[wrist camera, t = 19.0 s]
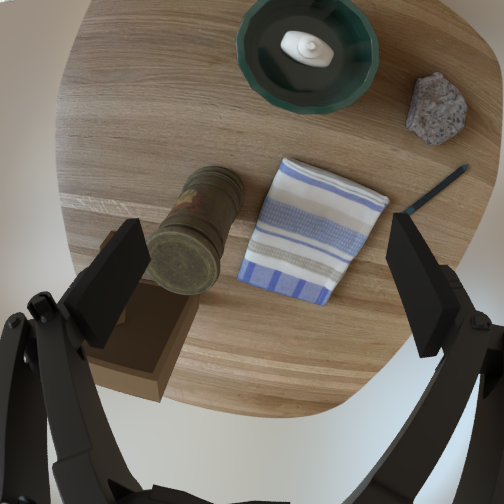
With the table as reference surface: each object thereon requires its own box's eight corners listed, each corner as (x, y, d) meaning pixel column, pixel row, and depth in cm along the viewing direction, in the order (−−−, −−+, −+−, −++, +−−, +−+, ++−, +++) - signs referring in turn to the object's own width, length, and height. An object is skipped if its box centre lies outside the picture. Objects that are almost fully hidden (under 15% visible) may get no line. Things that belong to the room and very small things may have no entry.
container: (254, 181, 44) (236, 253, 29) (228, 227, 49) (203, 309, 34) (198, 154, 42) (150, 213, 28) (177, 203, 47) (131, 276, 33)
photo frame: (199, 304, 60) (165, 418, 39) (103, 286, 60) (48, 379, 40) (198, 241, 51) (148, 366, 31) (88, 226, 52) (11, 322, 31)
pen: (468, 165, 38) (471, 168, 37) (397, 221, 45) (399, 225, 44) (465, 160, 37) (468, 162, 36) (393, 217, 45) (395, 220, 44)
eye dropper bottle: (303, 77, 34) (310, 82, 24) (276, 44, 32) (272, 35, 22) (330, 60, 32) (348, 58, 23) (303, 26, 30) (311, 11, 20)
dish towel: (390, 194, 42) (395, 202, 40) (324, 301, 56) (325, 312, 54) (284, 149, 41) (284, 155, 38) (235, 273, 54) (232, 284, 52)
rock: (400, 133, 37) (410, 141, 34) (415, 63, 31) (427, 64, 27) (449, 150, 37) (462, 159, 34) (465, 85, 31) (480, 89, 27)
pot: (242, 4, 29) (230, -10, 22) (356, 4, 27) (374, -10, 20) (251, 105, 38) (243, 116, 30) (360, 105, 36) (379, 116, 28)
